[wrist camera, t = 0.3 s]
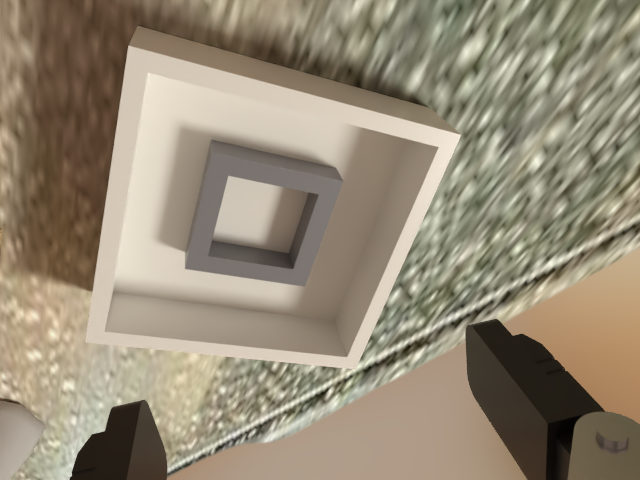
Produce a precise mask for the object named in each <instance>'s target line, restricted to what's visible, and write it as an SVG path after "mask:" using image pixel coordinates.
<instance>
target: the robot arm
mask: <svg viewBox="0 0 640 480" xmlns="http://www.w3.org/2000/svg"><path fill="white" fill-rule="evenodd" d="M466 355H467V375H468V381H469V385H470V388H471V391H472V393H473V395H474V397H475V399H476V401H477V402H478V403H479V405H480V407H481V408H482V410H483V412H484V413H485V415H486V416H487V418H488V419H489V421H490V422H491V424H492V425H493V427H494V428H495V430H496V432H497V433H498V435H499V436H500V438H501V439H502V441H503V442H504V444H505V445H506V447H507V449H508V450H509V452H510V453H511V454H512V456H513V458H514V459H515V461H516V462H517V464H518V465H519V467H520V469H521V470H522V472H523V473H524V475H525V476H526V478H527V479H528V480H640V424H638V423H637V422H635V421H634V420H632V419H630V418H628V417H625V416H623V415H620V414H616V413H612V412H605V411H604V410H603V408H602V407H601V406H600V405H599V404H598V403H597V402H596V401H595V400H594V399H593V398H592V397H591V396H590V395H589V394H588V393H587V392H586V390H585V389H584V388H583V387H582V386H581V385H580V384H579V383H578V382H577V381H576V380H575V379H574V378H573V377H572V376H571V375H570V374H569V372H568V371H565V368H564V367H563V366H562V365H561V364H560V363H559V362H558V361H557V360H555V359H554V357H553V356H552V354H551V353H550V352H549V351H548V350H547V349H546V348H545V347H544V346H543V345H542V344H541V343H539V342H537V341H535V340H533V339H531V338H529V337H528V336H526V335H524V334H519V335H515V336H512V335H511V333H510V332H509V331H508V330H507V329H506V328H505V327H504V326H503V324H502V323H501V322H500V321H499V320H497V319H493V320H489V321H485V322H480V323H476V324H472V325H468V326H467V327H466ZM166 479H167V460H166V453H165V449H164V446H163V443H162V440H161V438H160V435H159V432H158V429H157V427H156V424H155V421H154V419H153V416H152V413H151V410H150V408H149V405H148V403H147V402H146V401H145V400H141V401H137V402H133V403H128V404H124V405H120V406H115V407H113V408H112V409H111V411H110V414H109V418H108V422H107V426H106V429H105V432H101V433H96V434H92V435H91V437H90V438H89V439H88V441H87V442H86V443H85V445H84V446H83V447H82V449H81V450H80V451H79V453H78V455H77V458H76V461H75V464H74V467H73V471H72V477H70V480H166Z"/></svg>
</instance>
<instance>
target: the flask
mask: <svg viewBox="0 0 640 480" xmlns="http://www.w3.org/2000/svg"><path fill="white" fill-rule="evenodd" d="M44 429H45V426H44V425H43V424H42V423H41V422H40V421H39V420H38V419H37V418H35V417H34V416H33V415H32V414H31V413H30V412H29V411H28V410H27V409H26V408H24V407H23V406H22V405H20V404H15V403H11V402H6V401H2V400H0V480H10V479H11V477H12V476H13V475H14V474H15V473H16V471H17V470H18V469H19V468H20V467H21V465H22V464H23V463H24V462H25V460H26V459H27V458H28V457H29V455H30V454H31V453H32V451H33V450H34V448H35V446H36V444H37V442H38V440H39V439H40V437H41V435H42V433H43V431H44Z"/></svg>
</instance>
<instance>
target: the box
mask: <svg viewBox="0 0 640 480" xmlns="http://www.w3.org/2000/svg"><path fill="white" fill-rule="evenodd" d="M460 136H461V134H460V133H458V132H457V131H456V130H455V129H454V128H453V127H451V126H450V125H449V124H448V123H447V122H445V121H444V120H443V119H442V118H441V117H440V116H438V115H437V114H436V113H435V112H434V111H433V110H431V109H430V108H429V107H425V106H422V105H418V104H415V103H411V102H408V101H404V100H400V99H397V98H393V97H390V96H386V95H383V94H379V93H376V92H372V91H368V90H365V89H361V88H358V87H354V86H351V85H347V84H344V83H340V82H336V81H333V80H329V79H326V78H322V77H319V76H315V75H312V74H308V73H304V72H301V71H297V70H294V69H290V68H287V67H283V66H280V65H276V64H272V63H269V62H265V61H262V60H258V59H255V58H251V57H247V56H244V55H240V54H237V53H233V52H230V51H226V50H223V49H219V48H215V47H212V46H208V45H205V44H201V43H198V42H194V41H191V40H187V39H183V38H180V37H176V36H173V35H169V34H166V33H162V32H159V31H155V30H151V29H148V28H144V27H141V26H137V28H136V30H135V32H134V35H133V37H132V39H131V41H130V43H129V45H128V52H127V59H126V65H125V72H124V79H123V86H122V93H121V100H120V107H119V114H118V120H117V127H116V134H115V141H114V148H113V155H112V162H111V169H110V175H109V182H108V189H107V196H106V203H105V210H104V217H103V224H102V231H101V237H100V244H99V251H98V258H97V265H96V272H95V279H94V286H93V292H92V299H91V306H90V313H89V320H88V327H87V334H86V341H85V342H86V343H96V344H106V345H116V346H126V347H136V348H146V349H156V350H166V351H177V352H187V353H197V354H207V355H217V356H227V357H237V358H247V359H258V360H268V361H278V362H288V363H298V364H308V365H318V366H328V367H338V368H349V369H356V367H357V365H358V363H359V360H360V358H361V356H362V354H363V351H364V349H365V347H366V345H367V343H368V340H369V338H370V336H371V334H372V331H373V329H374V327H375V325H376V323H377V320H378V318H379V316H380V314H381V312H382V309H383V307H384V305H385V303H386V300H387V298H388V296H389V294H390V292H391V289H392V287H393V285H394V283H395V280H396V278H397V276H398V274H399V272H400V269H401V267H402V265H403V263H404V261H405V258H406V256H407V254H408V252H409V249H410V247H411V245H412V243H413V241H414V238H415V236H416V234H417V232H418V229H419V227H420V225H421V223H422V221H423V218H424V216H425V214H426V212H427V210H428V207H429V205H430V203H431V201H432V198H433V196H434V194H435V192H436V190H437V187H438V185H439V183H440V181H441V178H442V176H443V174H444V172H445V170H446V167H447V165H448V163H449V161H450V159H451V156H452V154H453V152H454V150H455V147H456V145H457V143H458V141H459V139H460Z"/></svg>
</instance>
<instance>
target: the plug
mask: <svg viewBox="0 0 640 480" xmlns="http://www.w3.org/2000/svg"><path fill="white" fill-rule="evenodd" d="M1 233H2V228H0V254H1Z"/></svg>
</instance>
